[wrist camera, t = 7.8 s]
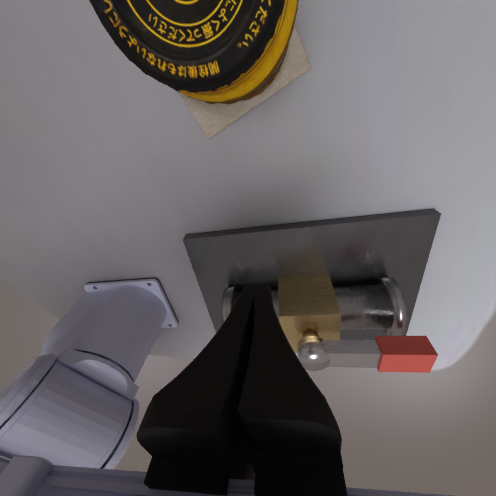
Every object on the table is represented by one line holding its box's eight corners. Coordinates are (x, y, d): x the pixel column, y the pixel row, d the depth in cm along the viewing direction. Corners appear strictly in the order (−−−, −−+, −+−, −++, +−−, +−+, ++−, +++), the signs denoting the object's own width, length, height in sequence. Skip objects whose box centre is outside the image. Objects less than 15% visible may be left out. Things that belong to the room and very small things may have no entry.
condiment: (310, 68, 16) (376, 19, 6) (208, 139, 19) (130, 190, 8) (255, -80, 12) (176, -792, 2) (143, 34, 15) (-101, -80, 5)
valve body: (221, 337, 32) (210, 392, 26) (186, 234, 23) (156, 280, 18) (400, 333, 28) (433, 395, 22) (433, 208, 20) (501, 256, 14)
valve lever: (297, 353, 21) (298, 370, 19) (296, 335, 19) (298, 353, 18) (418, 353, 19) (429, 373, 18) (426, 335, 18) (438, 354, 17)
